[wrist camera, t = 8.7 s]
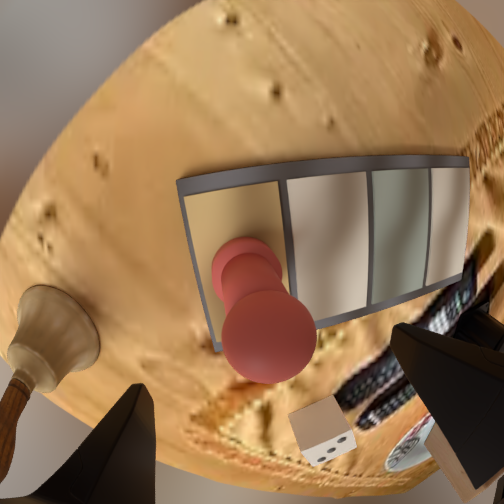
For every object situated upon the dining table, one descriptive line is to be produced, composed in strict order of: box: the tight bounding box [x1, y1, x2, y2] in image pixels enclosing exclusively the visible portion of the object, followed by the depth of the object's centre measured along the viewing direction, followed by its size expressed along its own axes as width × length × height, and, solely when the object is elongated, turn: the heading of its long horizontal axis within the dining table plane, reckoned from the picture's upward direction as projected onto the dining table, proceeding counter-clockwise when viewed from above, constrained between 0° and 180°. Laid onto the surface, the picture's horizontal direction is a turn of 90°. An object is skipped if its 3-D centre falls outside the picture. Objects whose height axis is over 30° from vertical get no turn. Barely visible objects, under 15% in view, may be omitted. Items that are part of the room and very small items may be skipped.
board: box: [176, 155, 470, 352], centre depth 18 cm, size 24×12×1 cm, turn 98°
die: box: [288, 394, 357, 467], centre depth 23 cm, size 5×5×5 cm
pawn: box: [211, 237, 317, 384], centre depth 13 cm, size 4×4×9 cm
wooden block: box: [424, 422, 504, 503], centre depth 27 cm, size 10×10×20 cm
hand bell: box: [0, 286, 99, 483], centre depth 10 cm, size 8×8×16 cm
